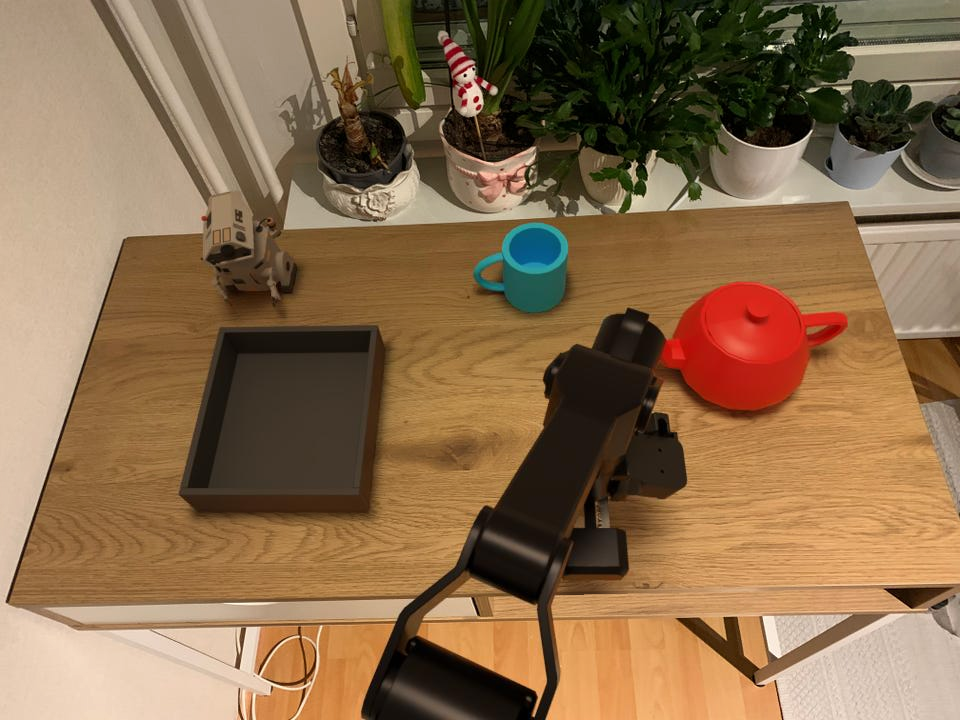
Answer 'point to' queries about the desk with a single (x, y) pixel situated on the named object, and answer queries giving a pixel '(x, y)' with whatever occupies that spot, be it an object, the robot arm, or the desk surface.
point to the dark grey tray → (287, 421)
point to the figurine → (243, 248)
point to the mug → (530, 267)
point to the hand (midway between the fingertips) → (581, 504)
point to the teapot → (746, 345)
